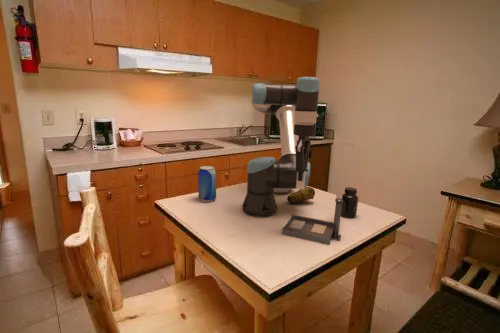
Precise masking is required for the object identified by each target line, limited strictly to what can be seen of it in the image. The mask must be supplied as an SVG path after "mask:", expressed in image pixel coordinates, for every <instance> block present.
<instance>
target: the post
mask: <svg viewBox="0 0 500 333" xmlns="http://www.w3.org/2000/svg"><path fill="white" fill-rule="evenodd" d="M334 200H335V208H334V215H333V218H334V219H333V222H334V225H333V234H332V239H331V241H338V242H340V241H341V237H342V234H340V233H339V231H340V222H341V207H342V202H343V199H339V198H337V199H336V198H335V199H334Z"/></svg>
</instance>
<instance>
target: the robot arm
mask: <svg viewBox="0 0 500 333" xmlns="http://www.w3.org/2000/svg"><path fill="white" fill-rule="evenodd" d="M251 90H252V91H251V106H252V107H253V108H254V109H255V110H256V111H258V112H260V113H263V114H266V115H275V117H276V119H278V122H279V135H280V149H281V151H280V152H281V156H280V157H279V158H278V160H276V158H275V157H273V156H260V157H255V158H252V159H251V160H249V161H248V163H247V170H246V174H247V179H246V181H247V182H246V194H245V198H244V200H243V202H242V208H241V210H242V212H243V213H244V214H246V215H249V216H251V217H257V218H258V217H261V218H262V217H271V216H273V215H275V214H276V213H277V210H278V207H277V206H278V205H277V202H276V199H275V192H274V188H286V189H291V190H293V189H295V190H300V189H301V190H304V188H305V187H308V184H309V181H310V178H311V177H310V175H311V163H310V161H309V158H310V148H311V145H312V143H311V140H310V137H314V136H316V131H317V130H316V129H317V125H316V123H317V118H319V114H318V106H319V105H318V104H319V94H320V93H319V92H320V90H321V88H320V79H319V78H318V77H316V76H315V77H314V76H302V77H301V76H300V77H298V78H297V80H296V84H295V83H294V84H290V83H289V84H288V83H285V84H284V83H264V82H260V83H258V82H257V83H253V84H252V88H251Z"/></svg>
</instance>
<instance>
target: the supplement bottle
mask: <svg viewBox="0 0 500 333" xmlns="http://www.w3.org/2000/svg"><path fill="white" fill-rule="evenodd" d="M357 194H358V189H357V188H355V187H352V186H351V187H349V186H348V187H347V186H346V187H344V193H342V194H341V199H343V202H342V207H341V216H342V217H343V218H347V219H353V218H356V216H357V212H358V204H359V196H358V195H357ZM341 216H340V217H341Z"/></svg>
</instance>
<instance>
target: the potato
mask: <svg viewBox="0 0 500 333" xmlns="http://www.w3.org/2000/svg"><path fill="white" fill-rule="evenodd" d="M315 194H316V190H315V189H314V188H312V187H311V186H306V187H305V188H304V190H301V189H297V190H296V191H294V192H292V193H290V194H288V195H287V197H286V199H287V200H286V201H287V202H288V203H290V204H300V203H303V202H307V201H309V200H314V199H315V198H314V197H315Z"/></svg>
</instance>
